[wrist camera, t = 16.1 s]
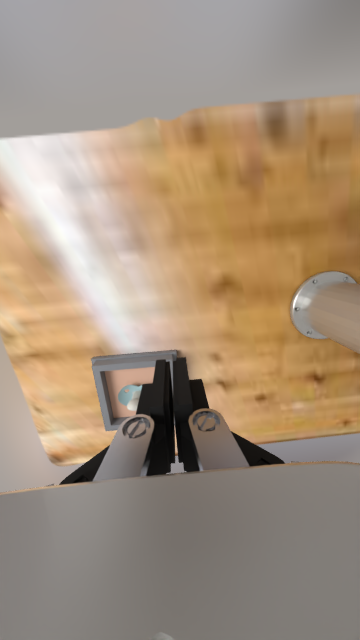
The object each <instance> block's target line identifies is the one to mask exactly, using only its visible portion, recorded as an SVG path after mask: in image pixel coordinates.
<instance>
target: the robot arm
mask: <svg viewBox="0 0 360 640" xmlns="http://www.w3.org/2000/svg"><path fill="white" fill-rule="evenodd" d="M290 316H291V320H292V323H293V324H294V326H295V328H296V329H297V330H298V331H299V332H301V333H302V334H304V335H305V336H307V337H310V338H313V339H326V338H330V339H332V340H334V341H336V342H337V343H339V344H341V345H343V346H345V347H347V348H349V349H351V350H353V351H355V352H357V353H359V354H360V284H357V283H356V282H355V280H354V279H353V278H352V277H350V276H349V275H347V274H345V273H341V272H335V271H327V272H322V273H318V274H316V275H314V276H312V277H310V278H309V279H307V280H306V281H305V282H304V283H303V284H302V285H301V286H300V287H299V288H298V290H297V291H296V293H295V295H294V296H293V299H292V302H291V307H290ZM174 418H175V428H176V438H177V449H178V459H179V463H181V462H183V464H184V471H187V472H184V473H174V474H166V473H169V472H170V471H171V463H175V431H174ZM0 640H360V464H359V463H352V462H336V461H322V462H294V461H291V463H287V464H285V463H284V462H283V461H282V460H281V459H279V458H278V457H276V456H275V455H273V454H271V453H269V452H267V451H266V450H264V449H262V448H260V447H259V446H257V445H255V444H253V443H251V442H250V441H248V440H246V439H244V438H242V437H240V436H239V435H237V434H235V433H233V432H231V431H230V429H229V427H228V425H227V424H226V422H225V420H224V418H223V416H222V415H221V414H220V413H219V412H217V411H215V410H213V409H209V406H208V402H207V398H206V394H205V390H204V386H203V382H202V379H196V380H189V377H188V371H187V364H186V357H184V358H176V361H173V390H172V380H171V369H170V361H167V362H166V359H161V360H156V364H155V371H154V378H153V383H150V384H143V385H142V389H141V393H140V398H139V402H138V406H137V411H136V415H134V416H131V417H129V418H127V419H126V420H124V421H123V422H122V424H121V425H120V426H119V428H118V430H117V432H116V435H115V437H114V439H113V441H112V443H111V445H109V446H108V447H107V448H105V449H104V450H103V451H101V452H100V453H99V454H97V455H96V456H94V457H93V458H92V459H90V460H89V461H88V462H86V463H85V464H84V465H82V466H81V467H80V468H78V469H77V470H76V471H74V472H73V473H71V474H70V475H69V476H68V477H66V478H65V479H64V480H63V481H62V482H61V483H60V484H59V485H56V486H54V484H51V485H48V486H45V487H37V488H30V489H23V490H15V491H9V492H1V493H0Z"/></svg>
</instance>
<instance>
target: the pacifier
mask: <svg viewBox="0 0 360 640" xmlns="http://www.w3.org/2000/svg"><path fill="white" fill-rule="evenodd" d="M126 389H129V391H128V392H125V390H126ZM141 389H142V385H141V386H137V385H127V386H125V387H123V388H122V389H121V390H120V392H119V394H118V400H119V402H120V403H121V404H123V405H125V406H127V409H128V410H131V411H137V406H138V402H139V398H140V393H141Z"/></svg>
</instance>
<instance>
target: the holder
mask: <svg viewBox="0 0 360 640" xmlns="http://www.w3.org/2000/svg"><path fill="white" fill-rule="evenodd" d="M176 358H177V354H176V350H169V351H157V352H145V353H134V354H122V355H110V356H98V357H93V358H92V359H91V360H92V370H93V375H94V379H95V384H96V388H97V393H98V398H99V402H100V407H101V411H102V416H103V421H104V425H105V430H106V431H113V430H118V428H119V426H120V425H121V424H122V422H123V421H124V420H126V419H127V418H129V417H131V416H134V415H136V411H131V410H128V409H127V406H125V405H123V404H121V403H120V402H119V400H118V394H119V392H120V390H121V389H122V388H123V387H125V386H127V385H137V386H141V385H143V384H150V383H153V378H154V371H155V364H156V360H161V359H166V362H167V361H170V369H171V380H172V390H173V361H176ZM128 391H129V389H126V390H125V392H128ZM174 425H175V418H174Z"/></svg>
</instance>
